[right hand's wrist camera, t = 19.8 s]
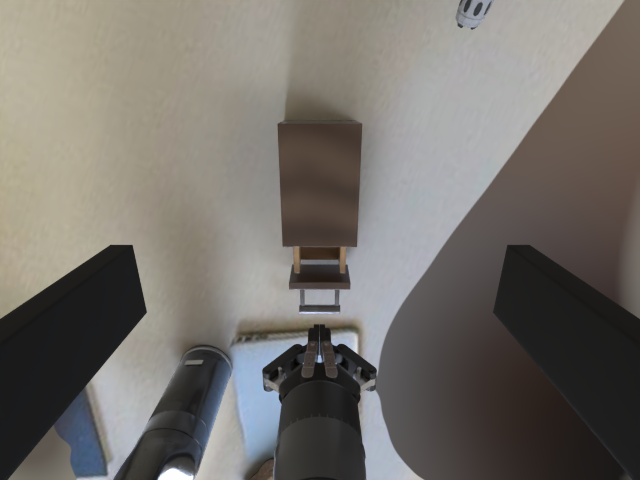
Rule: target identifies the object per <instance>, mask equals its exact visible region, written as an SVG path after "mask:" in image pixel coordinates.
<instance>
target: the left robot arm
mask: <svg viewBox="0 0 640 480" xmlns="http://www.w3.org/2000/svg"><path fill="white" fill-rule="evenodd" d="M318 355H319V324H314V328H310V329H309V331H308V343H307V345H305V346H302V345H300V344H295V345H293V346H292V347H291V348H289V349H288V350H287V351H285V352H284V353H283V354H282V355H280V356H279V357H278V358H276V359H275V360H274V361H272V362H271V363H270V364H268V365H267V366H266V367H264V368H263V370H262V372H263V385H264V390H265V391H268V392H269V391H272V390H275V391H276V392H278V393H279V400H280V402H281V404H282V406H281V414H280V421H279V429H278V437H277V445H276V447H275V451H274V469H273V480H366V468H365V450H364V446H363V444H362V436H361V428H360V420H359V412H358V403H359V401H360V393H361V392H363V391H364V390H367V391H374V390H375V386H376V373H377V370H376V368H375V367H374V366H372V365H371V364H370V363H368V362H367V361H366V360H364V359H363V358H362V357H360V356H359V355H358V354H357V353H355V352H354V351H353V350H351V349H350V348H349V347H347V346H346V345H344V344H339V345H337V346H334V345H332V343H331V332H330V329H329V328H325V324H320V355H321V358H322V363H317V362H318ZM303 363H304V364H303ZM231 372H232V364H231V361H230V359H229V358H228V357H227V355H226V354H225V353H223V352H222V351H220V350H219V349H217V348H214V347H210V346H197V347H194V348H192V349H190V350H188V351H187V352H186V353H185V354H184V356H183V357H182V359H181V362H180V364H179V366H178V368H177V370H176V371H175V373H174V375H173V377H172V379H171V381H170V382H169V384H168V386H167V388H166V390H165V392H164V393H163V395H162V397H161V399H160V401H159V403H158V405H157V406H156V408H155V410H154V412H153V414H152V416H151V417H150V419H149V421H148V423H147V425H146V427H145V429H144V431H143V433H142V434H141V436H140V438H139V440H138V442H137V444H136V445H135V447H134V449H133V450H132V452H131V453H130V455H129V456H128V458H127V459H126V460H125V462H124V463H123V465H122V466H121V468H120V469H119V471H118V473H117V474H116V476H115V478H114V479H113V480H194V479H195V477H196V475H197V473H198V470H199V467H200V464H201V461H202V458H203V455H204V452H205V449H206V446H207V443H208V440H209V437H210V434H211V431H212V428H213V425H214V422H215V419H216V416H217V413H218V410H219V407H220V404H221V401H222V398H223V395H224V392H225V389H226V386H227V383H228V380H229V378H230V376H231Z"/></svg>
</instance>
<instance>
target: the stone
mask: <svg viewBox="0 0 640 480" xmlns="http://www.w3.org/2000/svg"><path fill="white" fill-rule="evenodd" d="M273 469H274V460H270V459H269V460H268V461H267V462H265V463H264V464H263V465H262V467H261V468H260V469H259V471H258V473H257V474H255V475H254V476H253V477H252V478H250V480H273Z"/></svg>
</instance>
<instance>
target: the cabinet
mask: <svg viewBox="0 0 640 480" xmlns="http://www.w3.org/2000/svg"><path fill="white" fill-rule="evenodd" d="M361 139H362V124H361V123H359V122H357V121H283V122H280V123H278V143H279V167H280V191H281V215H282V240H283V247H357V231H358V208H359V185H360V162H361Z"/></svg>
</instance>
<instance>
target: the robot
mask: <svg viewBox="0 0 640 480" xmlns="http://www.w3.org/2000/svg"><path fill="white" fill-rule="evenodd" d="M493 1H494V0H461V1H460V4H459V7H458V10H457V14H456V20H457V22H458V26H459V27H460V28H462V27H463V26H465V27H471V29H472V30H473V29H475V28H476V27H477V26H478V25H479V24H480V23H481V21H482V20H483V19H484V18H485V16H486V14H487V12H488V11H489V9H490V7H491V5H492V3H493Z"/></svg>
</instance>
